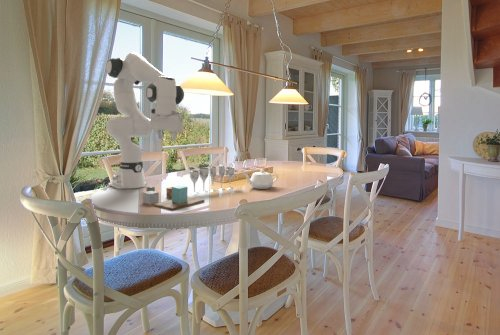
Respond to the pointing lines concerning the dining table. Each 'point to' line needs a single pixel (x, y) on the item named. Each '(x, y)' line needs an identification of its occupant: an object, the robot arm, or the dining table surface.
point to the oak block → (169, 192)
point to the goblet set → (204, 174)
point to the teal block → (179, 194)
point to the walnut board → (174, 206)
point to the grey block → (150, 197)
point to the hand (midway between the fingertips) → (166, 139)
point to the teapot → (261, 179)
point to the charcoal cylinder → (150, 189)
